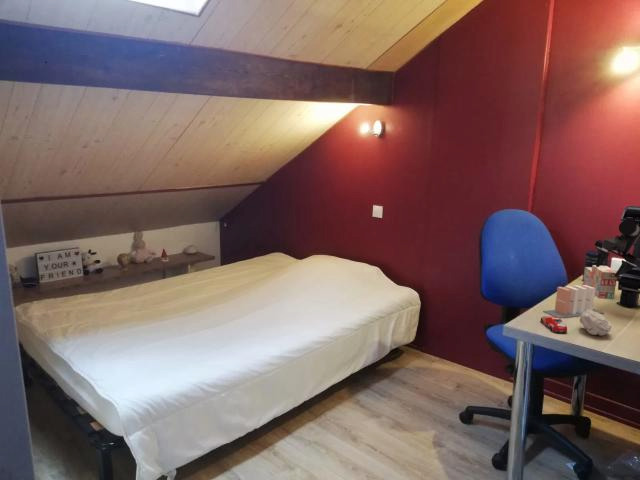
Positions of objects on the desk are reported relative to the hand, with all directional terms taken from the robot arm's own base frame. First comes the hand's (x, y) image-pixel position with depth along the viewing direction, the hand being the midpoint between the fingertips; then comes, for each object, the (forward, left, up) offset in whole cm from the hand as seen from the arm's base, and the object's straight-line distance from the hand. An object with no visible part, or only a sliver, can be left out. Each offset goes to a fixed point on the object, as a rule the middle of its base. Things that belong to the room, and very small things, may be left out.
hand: (606, 271), depth 188 cm
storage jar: (-34, -36, -16) cm, 52 cm away
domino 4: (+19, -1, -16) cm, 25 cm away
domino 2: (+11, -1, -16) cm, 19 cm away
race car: (+33, +10, -17) cm, 39 cm away
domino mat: (+13, -1, -16) cm, 21 cm away
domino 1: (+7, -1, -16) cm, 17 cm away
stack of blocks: (-22, -22, -17) cm, 35 cm away
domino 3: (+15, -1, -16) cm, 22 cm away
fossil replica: (+23, +18, -16) cm, 34 cm away
